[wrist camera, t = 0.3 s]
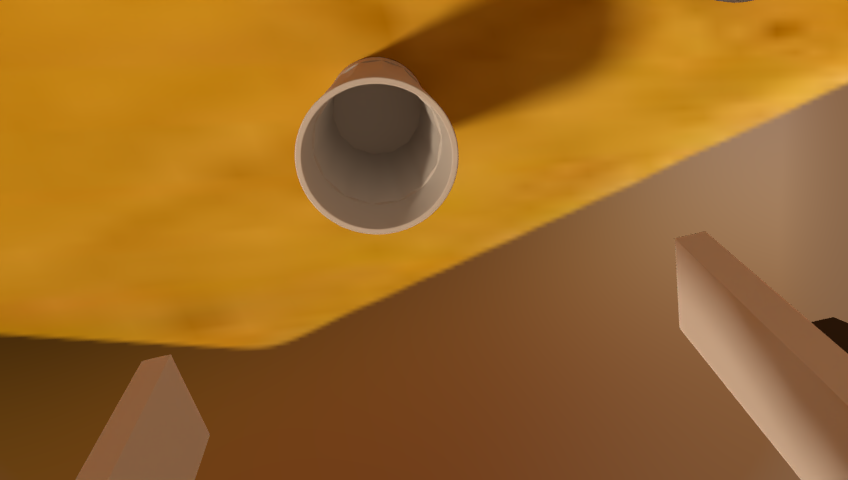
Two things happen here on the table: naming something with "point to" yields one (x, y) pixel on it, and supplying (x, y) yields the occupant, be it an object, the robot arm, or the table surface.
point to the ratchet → (734, 0)
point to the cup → (376, 150)
